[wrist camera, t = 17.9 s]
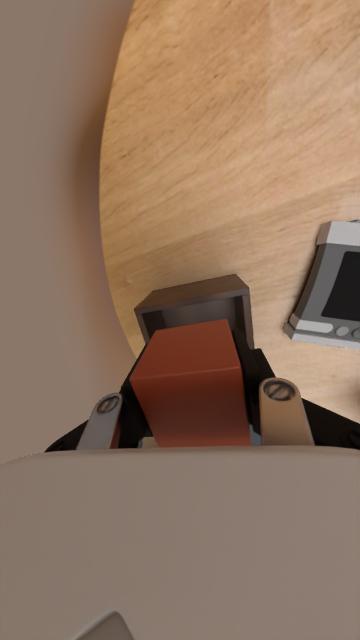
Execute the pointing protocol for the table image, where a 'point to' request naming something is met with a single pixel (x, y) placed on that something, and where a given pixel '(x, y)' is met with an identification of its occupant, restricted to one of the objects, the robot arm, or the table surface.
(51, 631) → the robot arm
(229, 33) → the table surface
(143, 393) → the block
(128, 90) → the table surface
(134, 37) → the table surface
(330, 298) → the alarm clock
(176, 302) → the box
